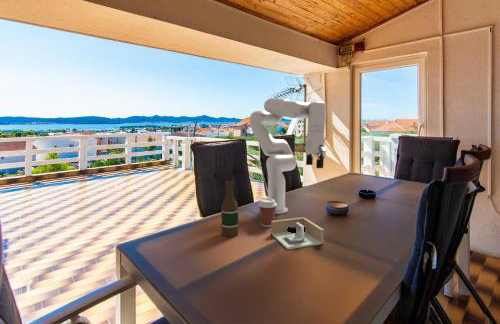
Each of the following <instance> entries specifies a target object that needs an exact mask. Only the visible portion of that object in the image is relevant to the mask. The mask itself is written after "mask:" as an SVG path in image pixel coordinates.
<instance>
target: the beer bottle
mask: <svg viewBox="0 0 500 324" xmlns="http://www.w3.org/2000/svg"><path fill="white" fill-rule="evenodd" d="M224 183H225V197H224V199H223V201H222V204H221V212H220V213H221V236H222V237H226V238H234V237H236V236H237V237H238V236H239V207H238V206H239V205H238V202H237V200H236V199H235V195H234V194H235V193H234V180H233V179H226V180H225V182H224Z"/></svg>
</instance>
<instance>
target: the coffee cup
mask: <svg viewBox="0 0 500 324" xmlns="http://www.w3.org/2000/svg"><path fill="white" fill-rule="evenodd" d="M257 206H258V207H259V216H260V217H259V218H260V225H261V226H262V227H265V228H266V227H267V228H270V227H271V221H275V220H276V219H275V218H276V216H275V215H276V214H275V208H276V206H277V203H276V202H275V200H274V199H268V198H261V199H260V200H259V202H258V203H257Z"/></svg>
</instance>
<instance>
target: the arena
mask: <svg viewBox="0 0 500 324" xmlns="http://www.w3.org/2000/svg"><path fill="white" fill-rule="evenodd" d="M296 223H300V224H301V225H303V226H304V227H305V232H304V241H299V242H293V243H290V242H289V241H288V240H287V239H286V238H285V235H291V234H296V233H291V232H288V231H287V229H288V227H296ZM270 230H271V231H270V235H272V236H273V237H274V239H276V241H278V242H279V243H280V244H281V246H282V247H284V248H285V249H286V250H293V249H300V248H305V247H306V248H307V247H312V246H319V245H324V237H325V236H324V235H325V229H324V228H322V227H321V226H319V225H317V224H316V223H315V222H313V221H311V220H309V219H308V218H307V217H304V216H302V217H294V218H287V219H285V218H284V219H277V220H276V219H275V220H274V221H271V228H270Z"/></svg>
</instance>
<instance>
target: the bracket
mask: <svg viewBox="0 0 500 324" xmlns="http://www.w3.org/2000/svg"><path fill="white" fill-rule="evenodd" d="M285 238H286V239H287V240H288V241H289V242H290V243H293V242H299V241H304V226H303V225H301V224H300V223H296V234H291V235H285Z"/></svg>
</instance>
